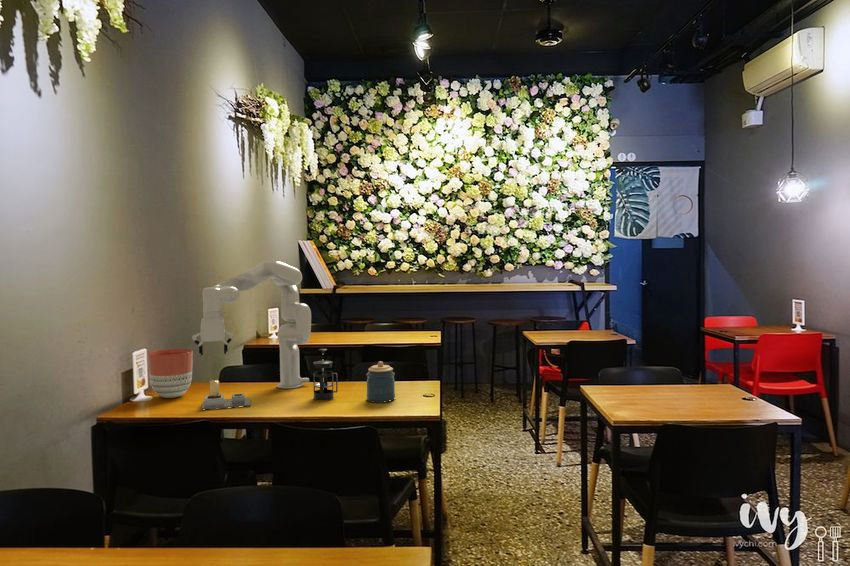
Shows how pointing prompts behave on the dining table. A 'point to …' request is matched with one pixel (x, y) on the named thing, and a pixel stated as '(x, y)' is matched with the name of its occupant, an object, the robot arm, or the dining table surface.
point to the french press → (323, 380)
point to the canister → (380, 383)
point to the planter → (170, 371)
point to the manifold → (225, 401)
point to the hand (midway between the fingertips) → (213, 354)
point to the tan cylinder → (214, 388)
